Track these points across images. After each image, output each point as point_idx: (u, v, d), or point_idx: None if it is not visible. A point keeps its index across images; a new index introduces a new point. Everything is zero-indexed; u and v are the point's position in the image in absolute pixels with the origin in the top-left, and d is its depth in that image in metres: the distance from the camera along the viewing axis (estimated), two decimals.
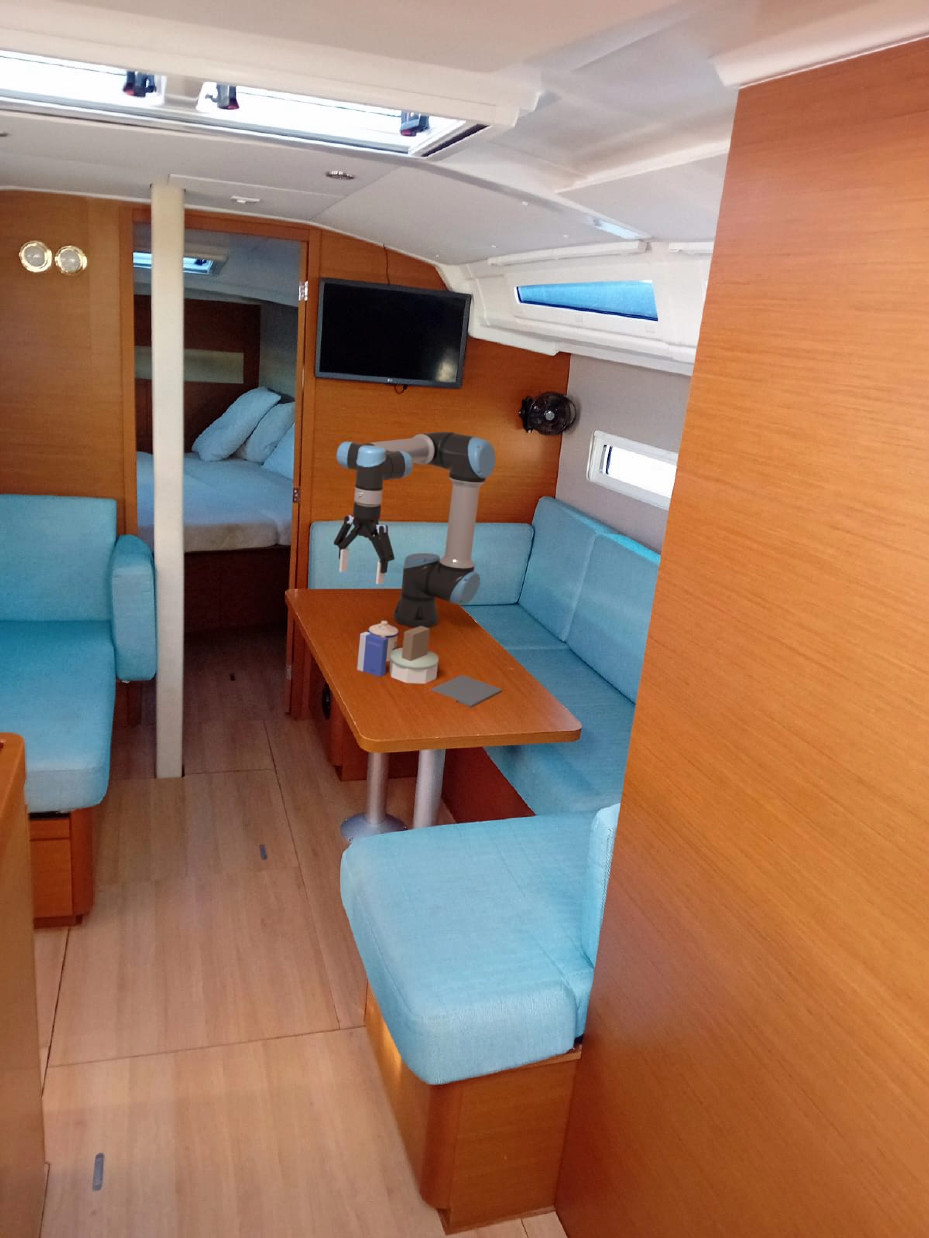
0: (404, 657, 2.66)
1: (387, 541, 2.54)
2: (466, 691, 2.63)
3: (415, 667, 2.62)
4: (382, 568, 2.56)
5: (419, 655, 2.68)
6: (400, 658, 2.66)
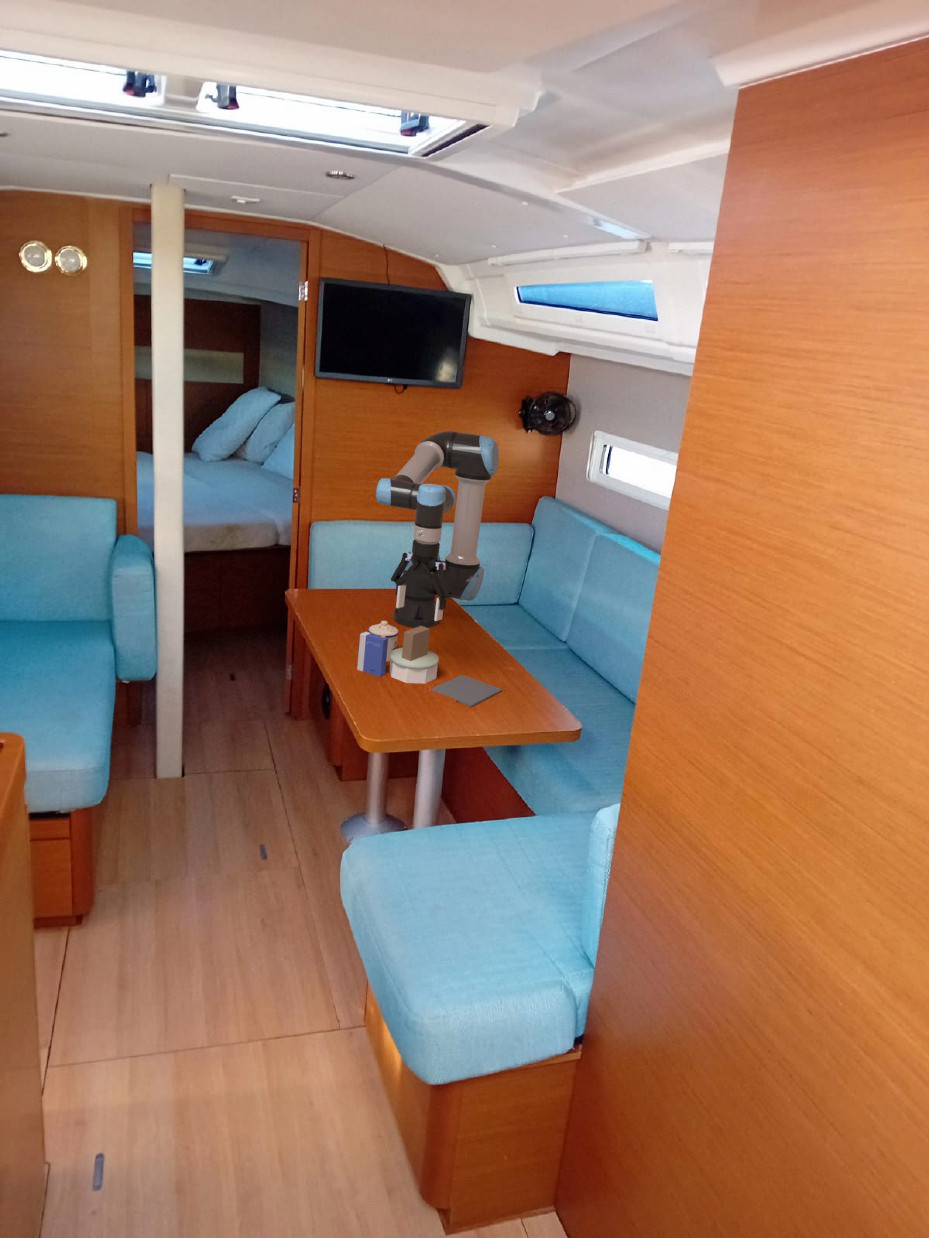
0: (404, 657, 2.66)
1: (446, 579, 2.56)
2: (466, 691, 2.63)
3: (415, 667, 2.62)
4: (441, 605, 2.58)
5: (419, 655, 2.68)
6: (400, 658, 2.66)
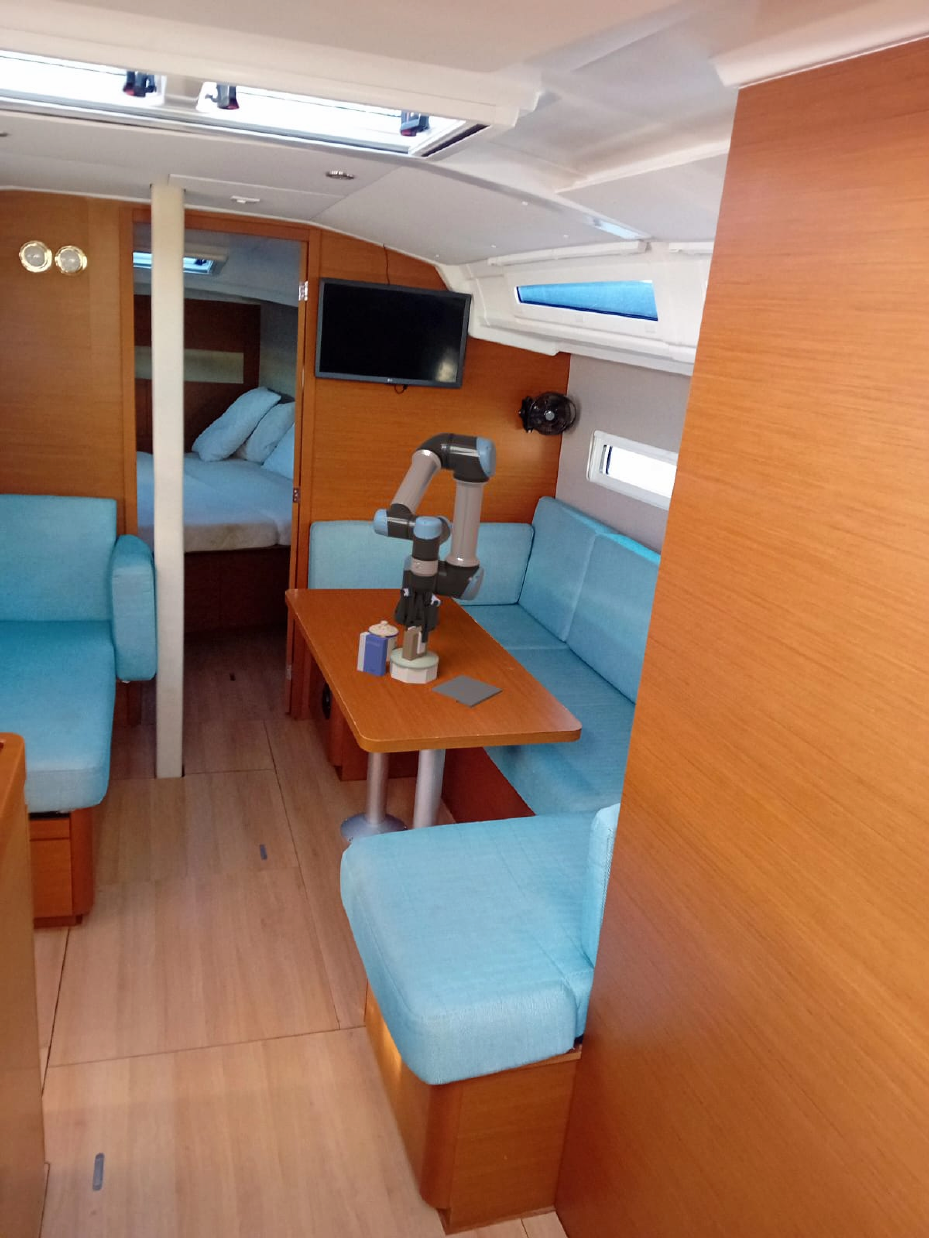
0: (404, 657, 2.66)
1: (435, 615, 2.61)
2: (466, 691, 2.63)
3: (415, 667, 2.62)
4: (423, 638, 2.65)
5: (419, 655, 2.68)
6: (400, 658, 2.66)
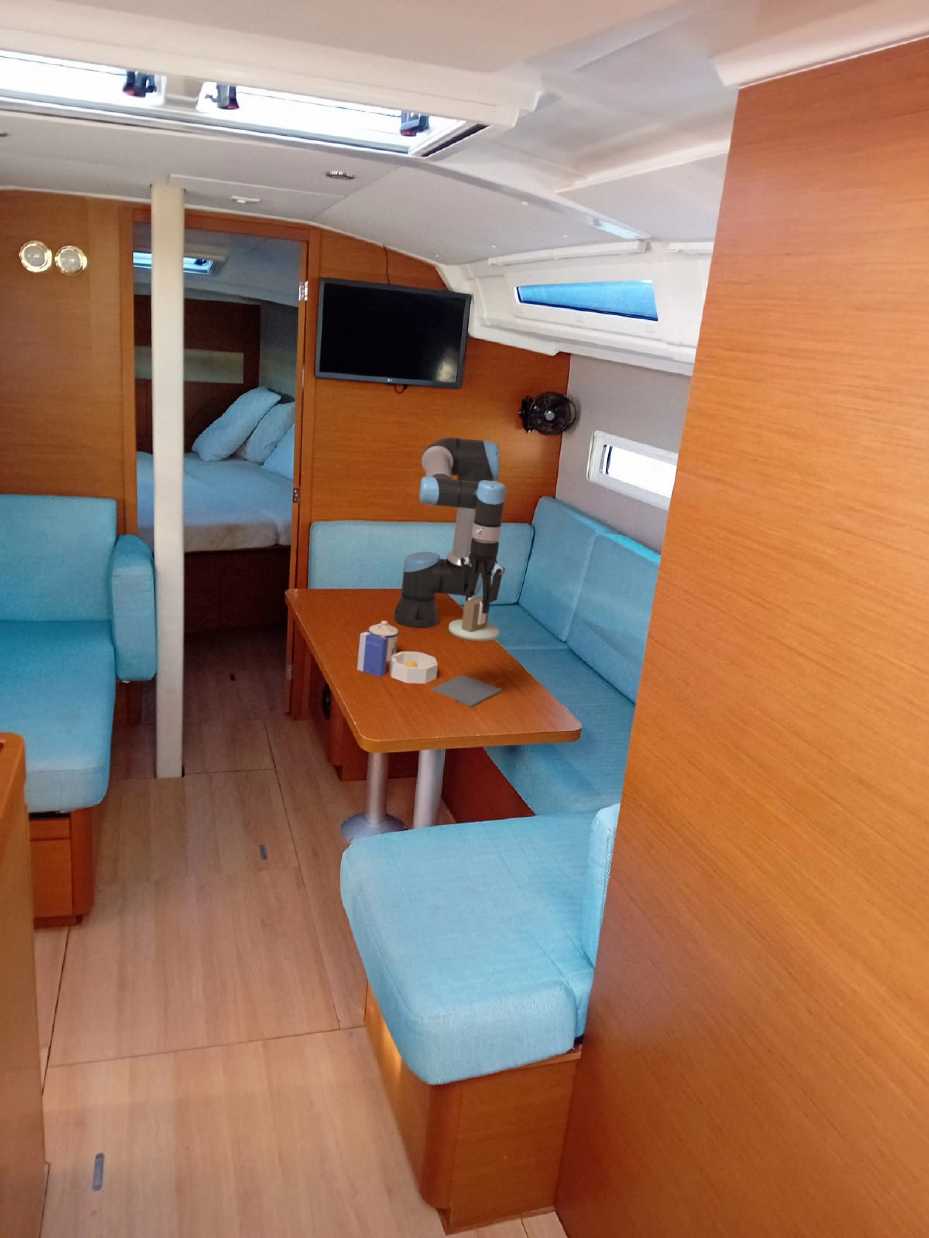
0: (464, 628, 2.55)
1: (498, 584, 2.51)
2: (466, 691, 2.63)
3: (476, 638, 2.52)
4: (484, 608, 2.54)
5: (479, 626, 2.57)
6: (460, 629, 2.56)
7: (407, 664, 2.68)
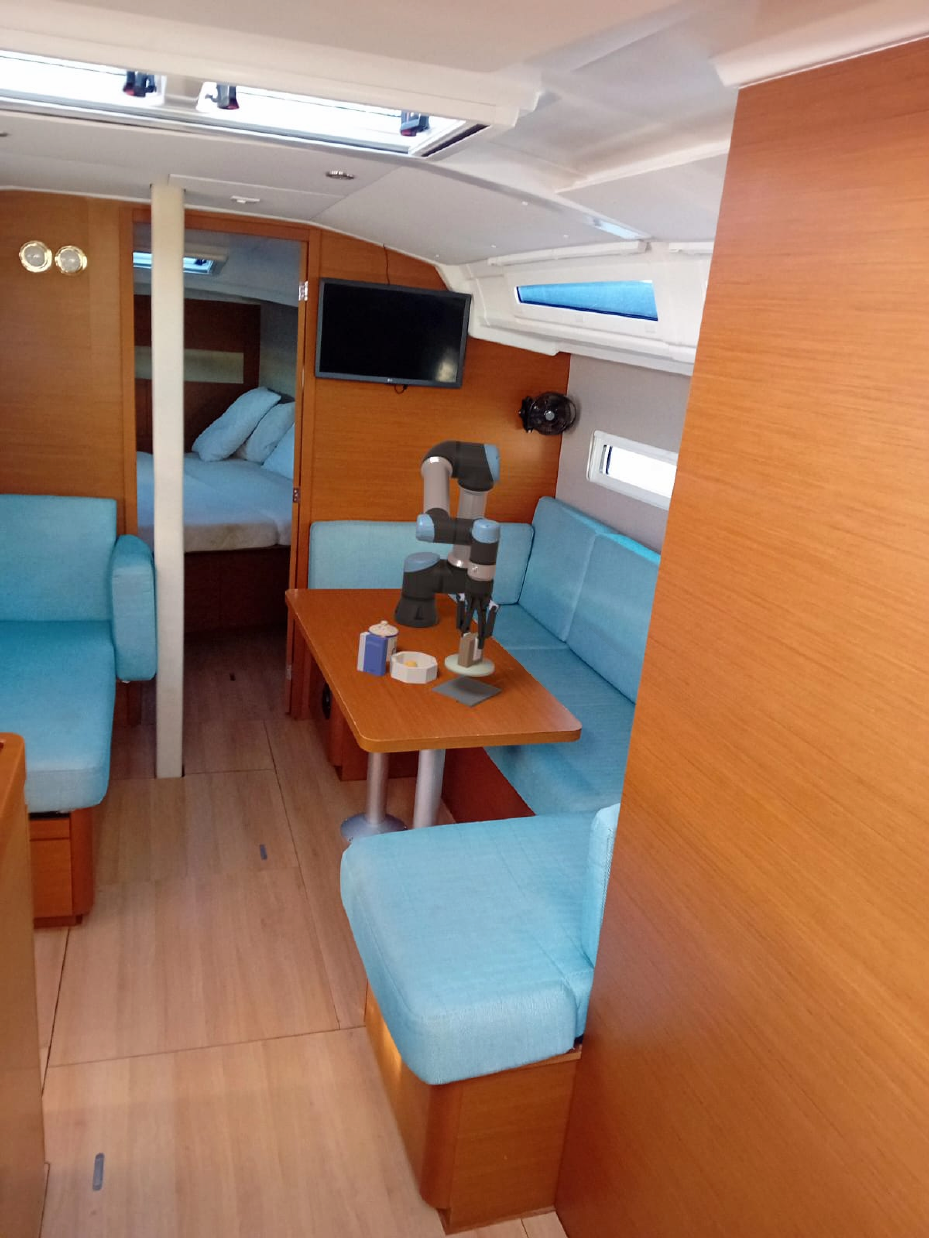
0: (460, 664, 2.59)
1: (493, 620, 2.54)
2: (466, 691, 2.63)
3: (472, 674, 2.55)
4: (479, 644, 2.58)
5: (475, 662, 2.61)
6: (456, 664, 2.59)
7: (407, 664, 2.68)
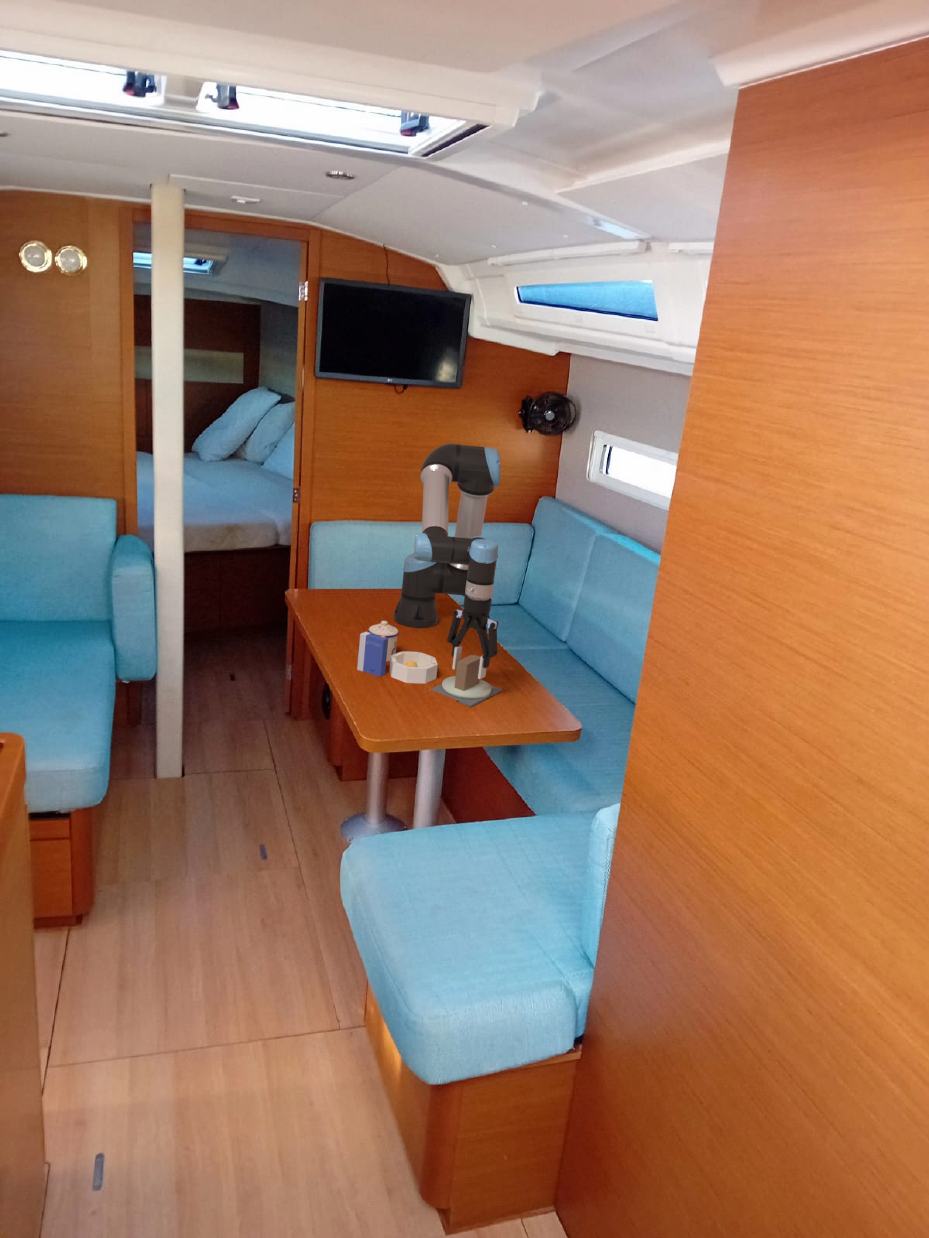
0: (457, 687, 2.61)
1: (494, 638, 2.55)
2: None
3: (469, 697, 2.58)
4: (485, 663, 2.58)
5: (472, 684, 2.63)
6: (453, 687, 2.61)
7: (407, 664, 2.68)
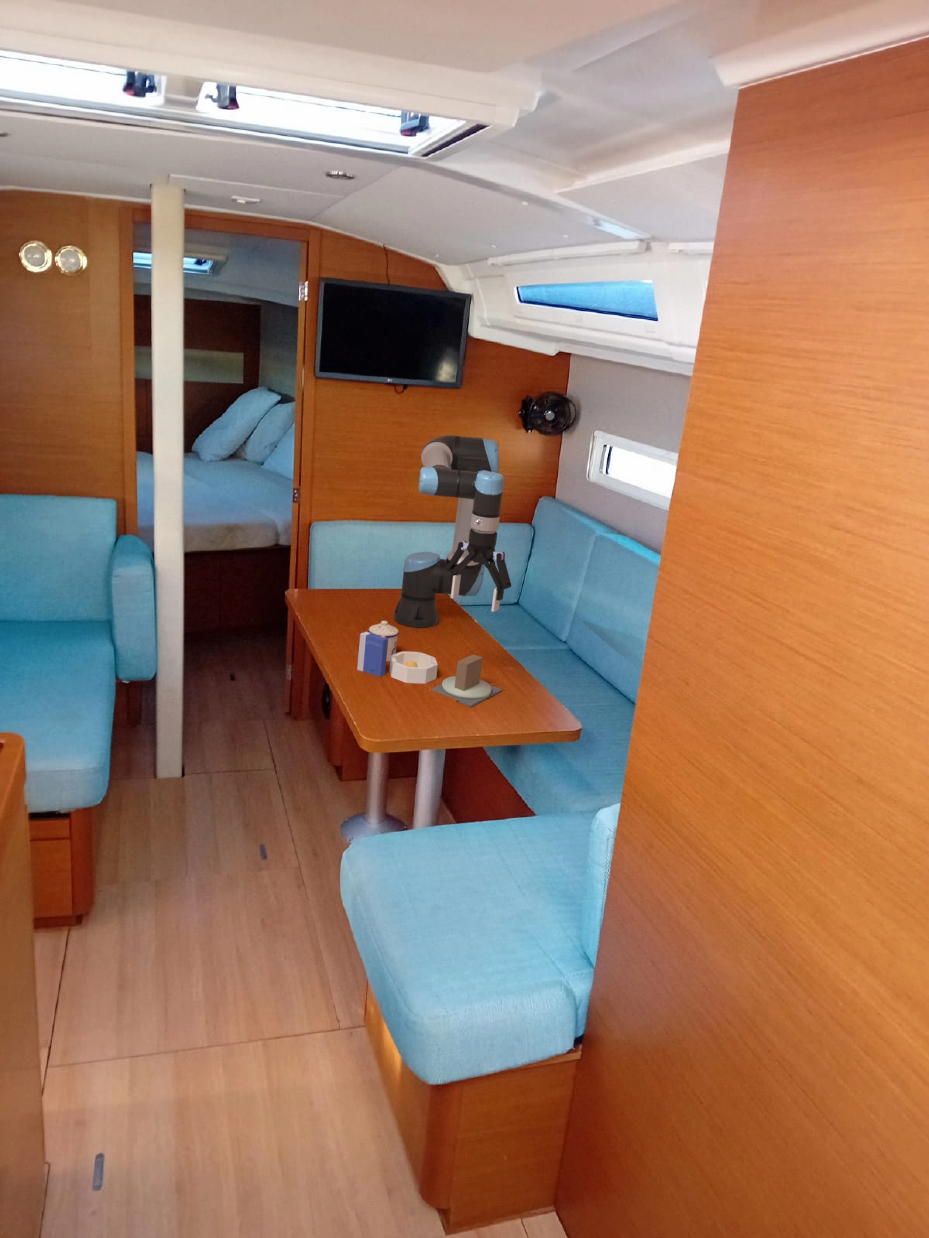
0: (457, 687, 2.61)
1: (504, 569, 2.51)
2: None
3: (469, 697, 2.58)
4: (498, 595, 2.53)
5: (472, 684, 2.63)
6: (453, 687, 2.61)
7: (407, 664, 2.68)
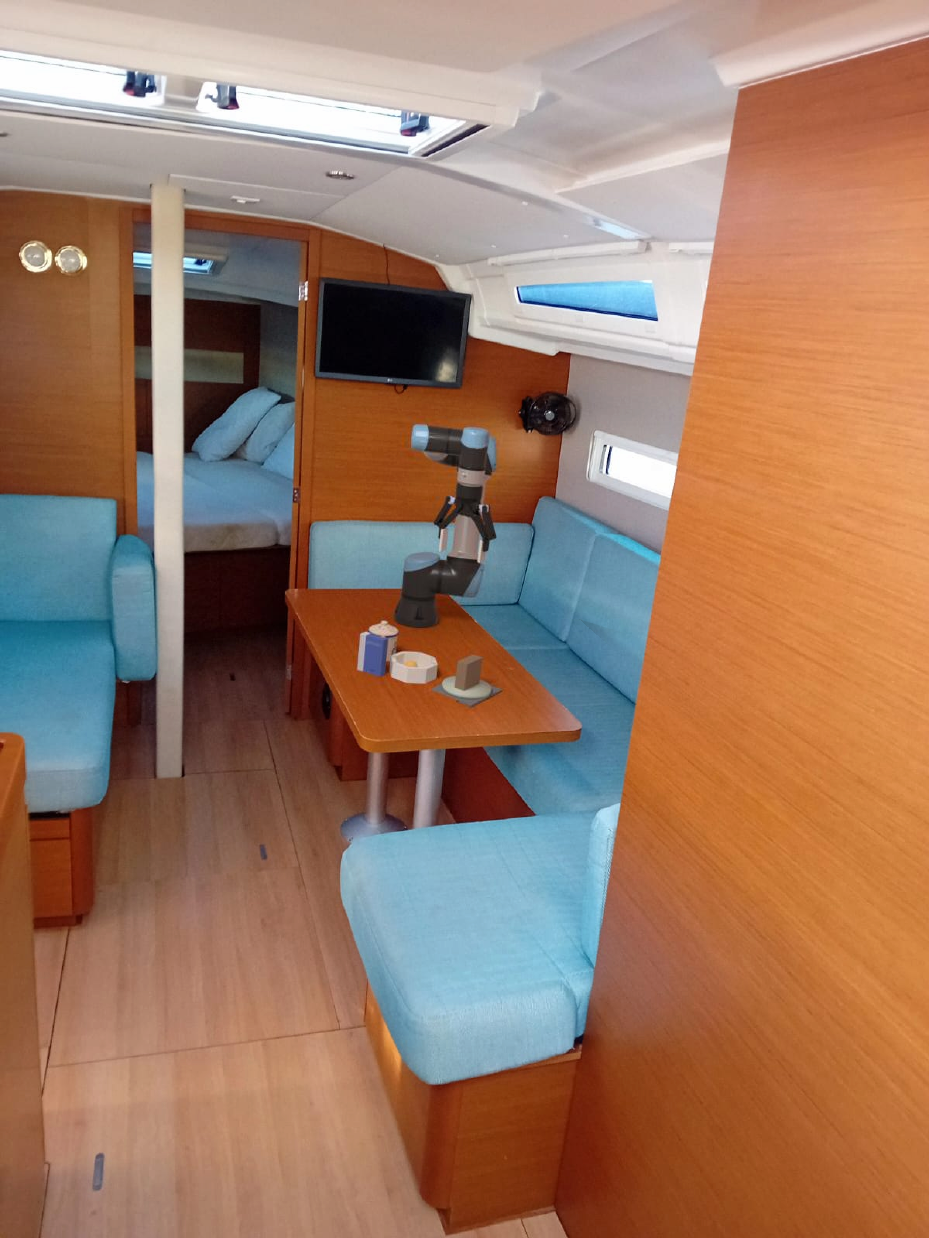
0: (457, 687, 2.61)
1: (490, 521, 2.61)
2: None
3: (469, 697, 2.58)
4: (484, 547, 2.63)
5: (472, 684, 2.63)
6: (453, 687, 2.61)
7: (407, 664, 2.68)
